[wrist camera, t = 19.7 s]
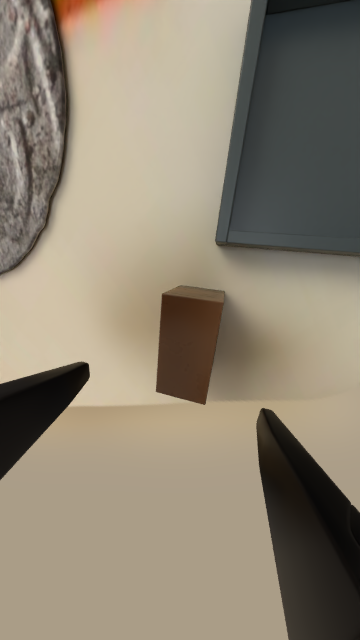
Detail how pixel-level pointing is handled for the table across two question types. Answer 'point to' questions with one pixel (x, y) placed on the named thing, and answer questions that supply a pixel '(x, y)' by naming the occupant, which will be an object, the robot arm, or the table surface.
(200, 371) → the brown rectangular block
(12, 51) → the ancient coin
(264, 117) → the tray
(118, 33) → the table surface
